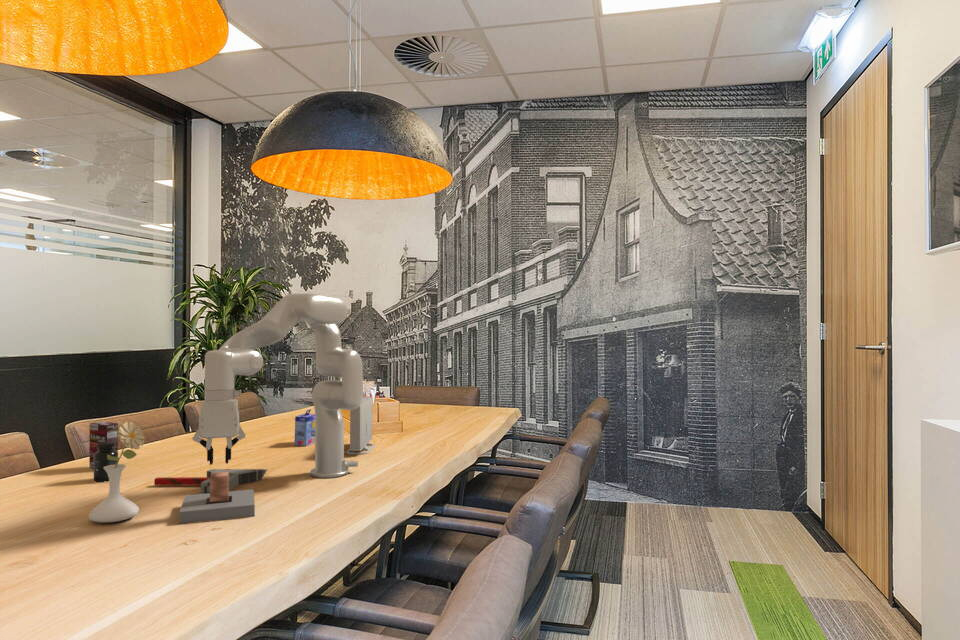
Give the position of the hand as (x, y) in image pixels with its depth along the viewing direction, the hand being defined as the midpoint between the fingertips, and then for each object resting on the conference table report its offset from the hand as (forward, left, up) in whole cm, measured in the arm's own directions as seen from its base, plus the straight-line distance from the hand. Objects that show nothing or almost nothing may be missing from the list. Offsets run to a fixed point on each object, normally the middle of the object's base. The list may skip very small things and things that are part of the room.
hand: (219, 462), depth 169 cm
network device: (-50, -68, -13) cm, 86 cm away
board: (0, 0, -13) cm, 13 cm away
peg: (0, 0, -13) cm, 13 cm away
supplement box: (+40, -66, -13) cm, 78 cm away
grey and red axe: (+4, -32, -14) cm, 35 cm away
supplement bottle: (+36, -48, -13) cm, 61 cm away
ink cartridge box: (-30, -87, -14) cm, 93 cm away
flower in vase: (+25, -2, -13) cm, 28 cm away
